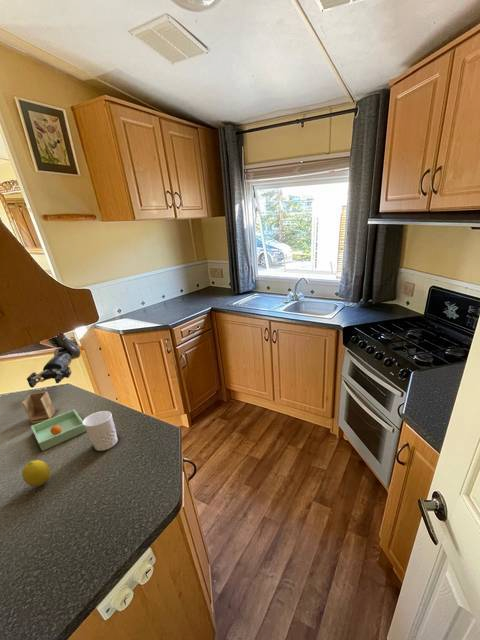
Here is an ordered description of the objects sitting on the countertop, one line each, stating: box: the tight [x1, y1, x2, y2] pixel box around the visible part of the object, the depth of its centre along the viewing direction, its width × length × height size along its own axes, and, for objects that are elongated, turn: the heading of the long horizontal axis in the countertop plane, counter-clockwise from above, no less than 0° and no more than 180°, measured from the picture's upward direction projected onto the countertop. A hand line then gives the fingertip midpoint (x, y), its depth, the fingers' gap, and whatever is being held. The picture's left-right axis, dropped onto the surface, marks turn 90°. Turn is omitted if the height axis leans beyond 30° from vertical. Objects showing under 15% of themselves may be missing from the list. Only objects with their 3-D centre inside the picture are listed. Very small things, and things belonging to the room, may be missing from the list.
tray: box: [30, 409, 87, 452], centre depth 99 cm, size 13×13×3 cm
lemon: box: [21, 459, 51, 487], centre depth 77 cm, size 6×6×8 cm
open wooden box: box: [22, 391, 57, 425], centre depth 107 cm, size 6×6×9 cm
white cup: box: [82, 410, 119, 452], centre depth 91 cm, size 8×8×10 cm
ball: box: [51, 426, 62, 435], centre depth 98 cm, size 3×3×3 cm
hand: (44, 383), depth 113 cm, fingers open, 8 cm apart
